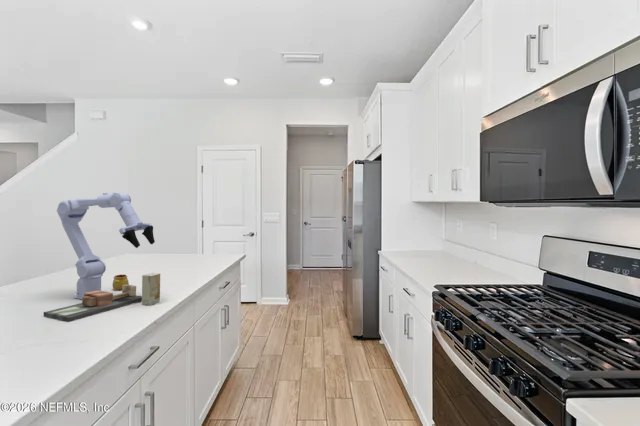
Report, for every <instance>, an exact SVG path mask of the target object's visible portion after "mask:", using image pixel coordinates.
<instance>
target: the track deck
mask: <svg viewBox="0 0 640 426" xmlns="http://www.w3.org/2000/svg"><path fill="white" fill-rule="evenodd" d="M112 293H113V292H110V291H103V290H101V291H98V290H95V291H91V292H86V293H84V297H85V296H96V297H97V305H95V306H85V305H82V302H80V303H77V304H73V305H68V306H64V307H61V308H60V307H59V308H55V309H52V310H47V311H44V312H43V317H44V318H49V319H55V320H58V321H63V322H67V323H69V322H73V321H76V320H80V319H83V318H87V317H91V316H95V315H98V314H101V313H102V314H103V313H105V312H109V311H111V310H115V309H116V310H117V309H119V308H121V307H125V306H129V305H133V304H137V303H140V302H142V295H137V294H136V295H135V296H125V297H122V298H118V299H114V300H113V301H112Z"/></svg>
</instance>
